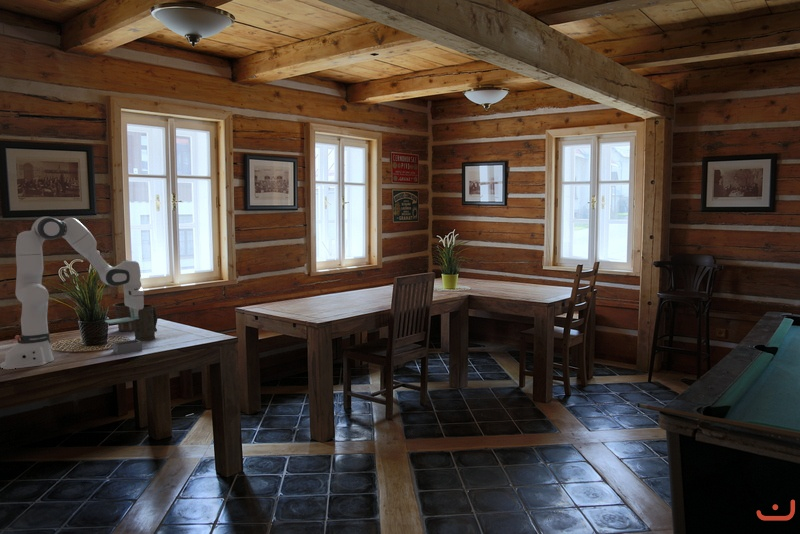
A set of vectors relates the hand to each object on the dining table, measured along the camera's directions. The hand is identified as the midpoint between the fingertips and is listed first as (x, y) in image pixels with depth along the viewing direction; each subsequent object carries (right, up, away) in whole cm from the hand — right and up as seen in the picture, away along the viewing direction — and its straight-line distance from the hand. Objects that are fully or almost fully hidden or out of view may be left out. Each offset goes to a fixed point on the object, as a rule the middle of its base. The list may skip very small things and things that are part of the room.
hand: (134, 315), depth 331 cm
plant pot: (-23, -12, +45) cm, 52 cm away
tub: (+1, -18, -11) cm, 21 cm away
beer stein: (0, -15, +18) cm, 24 cm away
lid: (-5, -3, -4) cm, 6 cm away
